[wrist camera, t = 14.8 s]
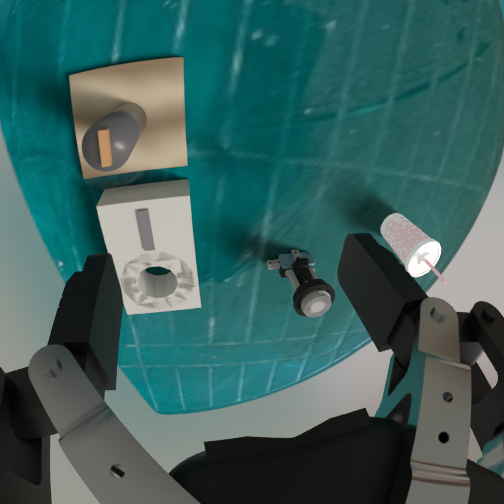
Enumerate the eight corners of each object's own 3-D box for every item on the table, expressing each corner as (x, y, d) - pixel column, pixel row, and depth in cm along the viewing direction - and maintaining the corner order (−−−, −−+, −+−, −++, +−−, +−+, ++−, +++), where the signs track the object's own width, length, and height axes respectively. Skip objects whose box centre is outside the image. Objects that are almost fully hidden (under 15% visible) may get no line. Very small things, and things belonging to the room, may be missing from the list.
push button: (264, 274, 45) (283, 326, 37) (267, 244, 42) (289, 295, 34) (307, 270, 47) (332, 318, 39) (313, 241, 44) (342, 287, 36)
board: (72, 74, 24) (69, 75, 23) (183, 56, 26) (183, 56, 25) (86, 175, 31) (83, 179, 30) (187, 162, 33) (187, 165, 32)
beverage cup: (385, 206, 43) (442, 263, 32) (412, 210, 44) (469, 264, 33) (370, 240, 46) (420, 302, 35) (398, 242, 48) (447, 299, 37)
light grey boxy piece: (104, 189, 33) (95, 208, 29) (188, 179, 34) (189, 196, 31) (130, 291, 42) (127, 316, 38) (198, 284, 44) (201, 309, 40)
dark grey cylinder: (108, 104, 26) (76, 126, 18) (145, 100, 27) (128, 118, 19) (111, 141, 29) (83, 177, 20) (147, 137, 30) (132, 171, 21)
